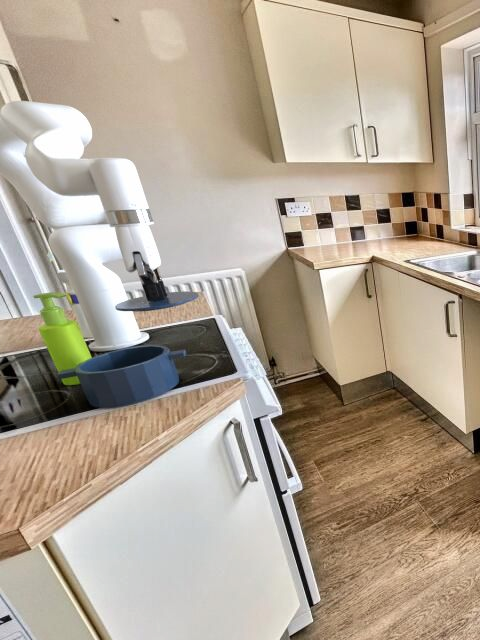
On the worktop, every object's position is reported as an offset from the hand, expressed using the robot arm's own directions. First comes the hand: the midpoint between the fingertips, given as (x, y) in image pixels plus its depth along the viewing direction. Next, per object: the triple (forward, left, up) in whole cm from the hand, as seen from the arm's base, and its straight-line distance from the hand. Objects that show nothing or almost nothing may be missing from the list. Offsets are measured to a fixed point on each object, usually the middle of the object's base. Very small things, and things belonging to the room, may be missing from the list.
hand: (157, 298), depth 100 cm
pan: (+17, -5, -16) cm, 24 cm away
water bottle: (-38, -24, -16) cm, 48 cm away
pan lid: (0, 0, -1) cm, 1 cm away
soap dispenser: (+3, -17, -16) cm, 23 cm away
